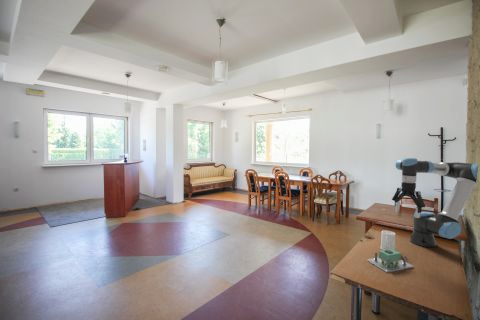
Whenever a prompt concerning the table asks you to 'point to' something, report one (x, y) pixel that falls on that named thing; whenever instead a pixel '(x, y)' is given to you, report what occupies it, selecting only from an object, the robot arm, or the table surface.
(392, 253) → the board
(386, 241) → the mug
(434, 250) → the table surface
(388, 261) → the chassis
